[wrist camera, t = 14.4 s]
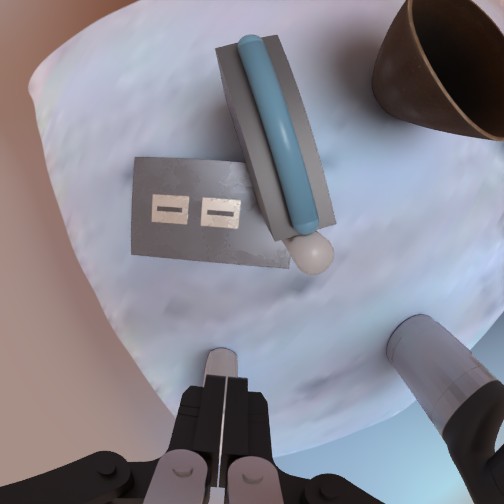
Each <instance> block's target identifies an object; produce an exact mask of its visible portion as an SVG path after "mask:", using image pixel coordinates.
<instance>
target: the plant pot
mask: <svg viewBox="0 0 504 504" xmlns="http://www.w3.org/2000/svg"><path fill="white" fill-rule="evenodd" d="M372 89H373V93H374V96H375V98H376V100H377V101H378V103H379V104H380V106H381V107H382V108H383V109H384V110H385V111H386V112H387V113H389V114H390V115H392V116H394V117H397V118H399V119H401V120H404V121H407V122H410V123H413V124H416V125H419V126H422V127H426V128H430V129H434V130H438V131H443V132H447V133H452V134H457V135H463V136H469V137H475V138H481V139H488V140H495V141H504V35H503V33H502V32H501V31H500V29H499V28H498V26H497V25H496V24H495V23H494V21H493V20H492V19H491V18H490V17H489V16H488V15H487V14H486V13H485V12H484V11H483V10H482V9H481V8H480V7H479V6H478V5H477V4H475V3H474V2H473V1H472V0H406V1H405V3H404V4H403V6H402V7H401V9H400V10H399V12H398V13H397V15H396V17H395V18H394V20H393V22H392V24H391V26H390V28H389V30H388V32H387V34H386V36H385V38H384V41H383V43H382V46H381V48H380V51H379V54H378V57H377V60H376V63H375V67H374V72H373V78H372Z"/></svg>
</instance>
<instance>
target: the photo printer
mask: <svg viewBox="0 0 504 504" xmlns="http://www.w3.org/2000/svg"><path fill="white" fill-rule="evenodd" d="M206 374H210V375H219V376H226V383H225V395H224V407H223V418H222V430H221V441H220V453H219V457H221V452H222V439H223V426H224V414H225V403H226V391H227V380H228V376H229V377H238V360H237V355H236V354H234V353H233V352H232V351H230V350H228V349H223V348H219V349H215V350H214V351H210V353H209V356H208V359H207V363H206V367H205V374H204V381H203V387H204V384H205V379H206Z"/></svg>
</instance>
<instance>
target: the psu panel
mask: <svg viewBox="0 0 504 504" xmlns="http://www.w3.org/2000/svg"><path fill="white" fill-rule="evenodd" d="M131 255H141V256H151V257H162V258H172V259H182V260H193V261H204V262H215V263H226V264H238V265H249V266H261V267H273V268H285V269H289V263H290V256H291V255H290V253H289V251H288V250H287V248H286V247H285V245H284V243H283V242H282V240H280V241H276V242H275V241H274V239H273V237H272V235H271V233H270V231H269V229H268V227H267V225H266V223H265V221H264V219H263V217H262V215H261V212H260V209H259V205H258V202H257V198H256V195H255V192H254V188H253V185H252V182H251V178H250V175H249V172H248V168H247V165H246V163H242V162H231V161H218V160H203V159H185V158H156V157H135V162H134V176H133V192H132V221H131Z"/></svg>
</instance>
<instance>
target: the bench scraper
mask: <svg viewBox="0 0 504 504" xmlns="http://www.w3.org/2000/svg"><path fill="white" fill-rule="evenodd" d="M215 50H216V55H217V60H218V64H219V69H220V74H221V79H222V84H223V88H224V93H225V98H226V101H227V104H228V107H229V110H230V113H231V117H232V120H233V123H234V126H235V129H236V133H237V136H238V139H239V142H240V146H241V149H242V152H243V155H244V159H245V162H246V165H247V168H248V172H249V175H250V178H251V182H252V185H253V188H254V192H255V195H256V198H257V202H258V205H259V209H260V212H261V215H262V217H263V219H264V221H265V223H266V225H267V227H268V229H269V231H270V233H271V235H272V237H273V239H274V241H275V242H276V241H280V240H282V242H283V243H284V245H285V247H286V248H287V250H288V251H289V253H290V255H291V256H292V258H293V260H294V261H295V263H296V265H297V266H298V268H299V269H300V270H301V271H302V272H304V273H306V274H311V275H315V274H319V273H322V272H324V271H325V270H326V269H327V268H328V267H329V266H330V265H331V263H332V261H333V257H334V250H333V247H332V245H331V243H330V242H329V241H328V240H327V239H326V238H325V237H323V236H322V235H321V234H320V233H318V232H317V231H316V230H317V229H321V228H324V227H327V226H331V225H334V224H336V220H335V216H334V212H333V207H332V203H331V199H330V195H329V191H328V187H327V183H326V179H325V176H324V172H323V168H322V164H321V161H320V157H319V154H318V150H317V147H316V143H315V140H314V137H313V133H312V130H311V127H310V124H309V120H308V117H307V114H306V111H305V108H304V105H303V102H302V99H301V96H300V93H299V90H298V87H297V85H296V82H295V79H294V76H293V73H292V71H291V68H290V65H289V63H288V60H287V57H286V55H285V52H284V50H283V47H282V45H281V42H280V40H279V37H278V35H273V36H267V37H262V38H260V37H259V36H256V35H246V36H244V37H242V38H241V39H240V40H239V42H238V43H234V44H230V45H227V46H223V47H219V48H215Z"/></svg>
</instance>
